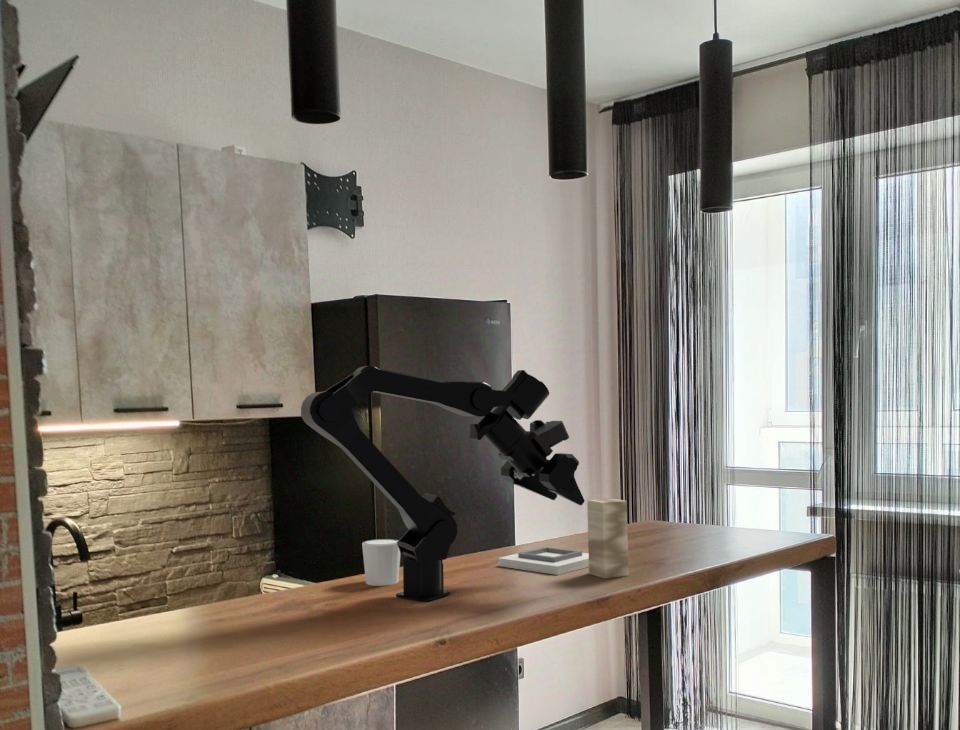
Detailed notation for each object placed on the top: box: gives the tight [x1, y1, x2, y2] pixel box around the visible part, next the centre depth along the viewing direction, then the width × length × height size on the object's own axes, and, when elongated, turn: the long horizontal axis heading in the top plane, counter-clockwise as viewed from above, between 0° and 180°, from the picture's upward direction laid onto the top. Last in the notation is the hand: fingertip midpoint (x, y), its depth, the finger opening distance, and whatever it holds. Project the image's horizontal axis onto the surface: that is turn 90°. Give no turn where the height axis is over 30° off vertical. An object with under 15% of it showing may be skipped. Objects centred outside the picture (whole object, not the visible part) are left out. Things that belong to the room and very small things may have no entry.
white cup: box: [361, 538, 401, 587], centre depth 147 cm, size 7×7×7 cm
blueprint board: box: [497, 546, 589, 576], centre depth 160 cm, size 14×14×2 cm
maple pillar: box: [586, 498, 630, 579], centre depth 150 cm, size 5×5×13 cm
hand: (568, 500), depth 147 cm, fingers open, 9 cm apart
